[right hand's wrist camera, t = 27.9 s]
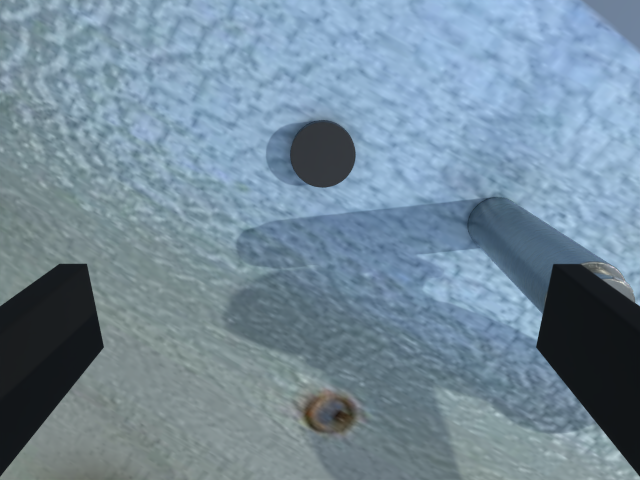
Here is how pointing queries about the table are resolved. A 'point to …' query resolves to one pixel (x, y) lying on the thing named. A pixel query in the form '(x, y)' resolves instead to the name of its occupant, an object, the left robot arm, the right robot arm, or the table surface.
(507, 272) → the cylinder
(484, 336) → the table surface
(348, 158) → the lid
